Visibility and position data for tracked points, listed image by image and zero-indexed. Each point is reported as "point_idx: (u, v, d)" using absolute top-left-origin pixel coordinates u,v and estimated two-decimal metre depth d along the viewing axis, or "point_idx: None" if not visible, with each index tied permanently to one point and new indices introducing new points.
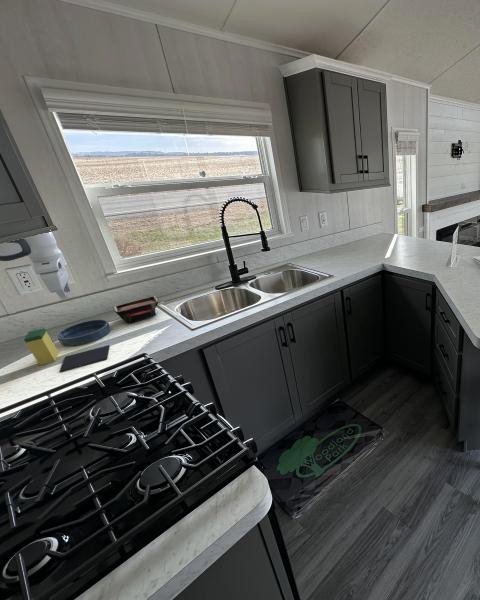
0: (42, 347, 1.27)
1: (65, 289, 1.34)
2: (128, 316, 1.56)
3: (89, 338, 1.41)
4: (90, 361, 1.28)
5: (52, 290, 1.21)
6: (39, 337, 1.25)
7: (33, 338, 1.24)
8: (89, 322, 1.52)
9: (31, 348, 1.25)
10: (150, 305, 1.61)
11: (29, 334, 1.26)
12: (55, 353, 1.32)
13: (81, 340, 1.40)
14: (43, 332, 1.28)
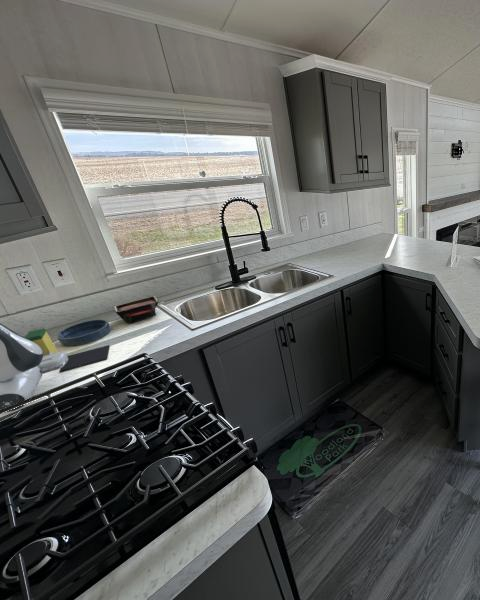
0: (42, 347, 1.27)
1: None
2: (128, 316, 1.56)
3: (89, 338, 1.41)
4: (90, 361, 1.28)
5: None
6: (39, 337, 1.25)
7: (33, 338, 1.24)
8: (89, 322, 1.52)
9: None
10: (150, 305, 1.61)
11: (29, 334, 1.26)
12: None
13: (81, 340, 1.40)
14: (43, 332, 1.28)
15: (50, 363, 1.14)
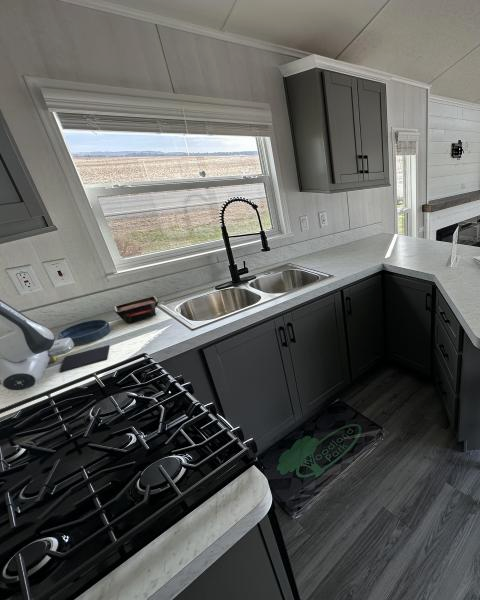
0: None
1: None
2: (128, 316, 1.56)
3: (89, 338, 1.41)
4: (90, 361, 1.28)
5: None
6: None
7: None
8: (89, 322, 1.52)
9: None
10: (150, 305, 1.61)
11: None
12: None
13: (81, 340, 1.40)
14: None
15: (57, 347, 1.23)
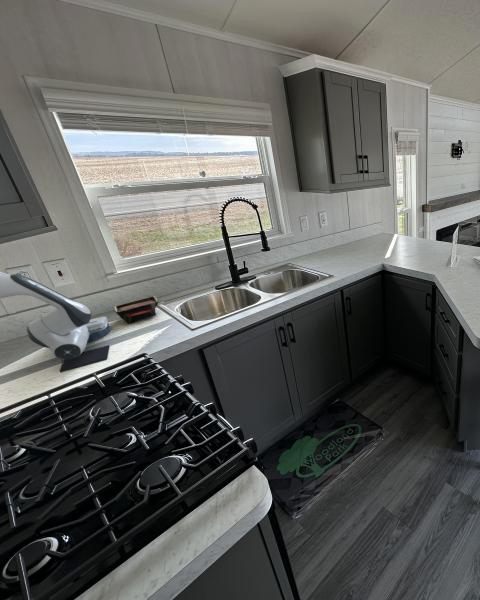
0: None
1: None
2: (128, 316, 1.56)
3: (89, 338, 1.41)
4: (90, 361, 1.28)
5: None
6: None
7: None
8: None
9: None
10: (150, 305, 1.61)
11: None
12: None
13: None
14: None
15: (96, 324, 1.38)
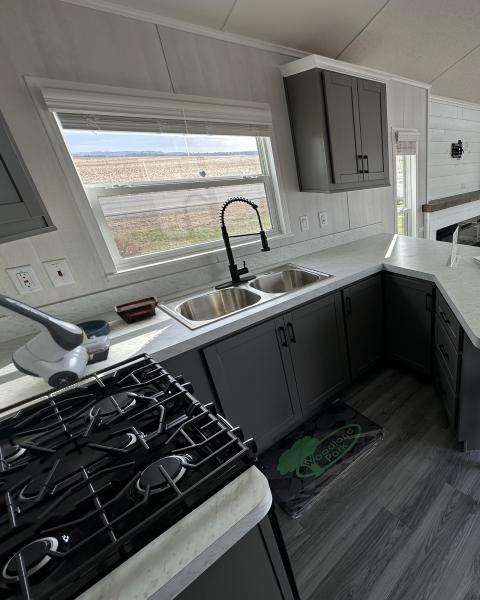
0: None
1: None
2: (128, 316, 1.56)
3: (89, 338, 1.41)
4: (90, 361, 1.28)
5: None
6: None
7: None
8: (89, 322, 1.52)
9: None
10: (150, 305, 1.61)
11: None
12: None
13: None
14: None
15: (96, 345, 1.23)
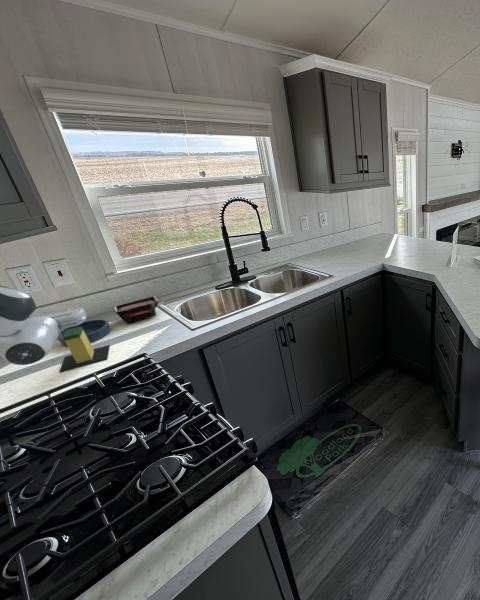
0: (80, 346, 1.26)
1: None
2: (127, 316, 1.56)
3: (89, 338, 1.41)
4: (90, 361, 1.28)
5: None
6: (77, 335, 1.24)
7: (72, 336, 1.23)
8: (89, 322, 1.52)
9: (69, 346, 1.24)
10: (150, 305, 1.61)
11: (67, 332, 1.25)
12: (91, 352, 1.31)
13: None
14: (80, 330, 1.27)
15: (69, 318, 1.06)
